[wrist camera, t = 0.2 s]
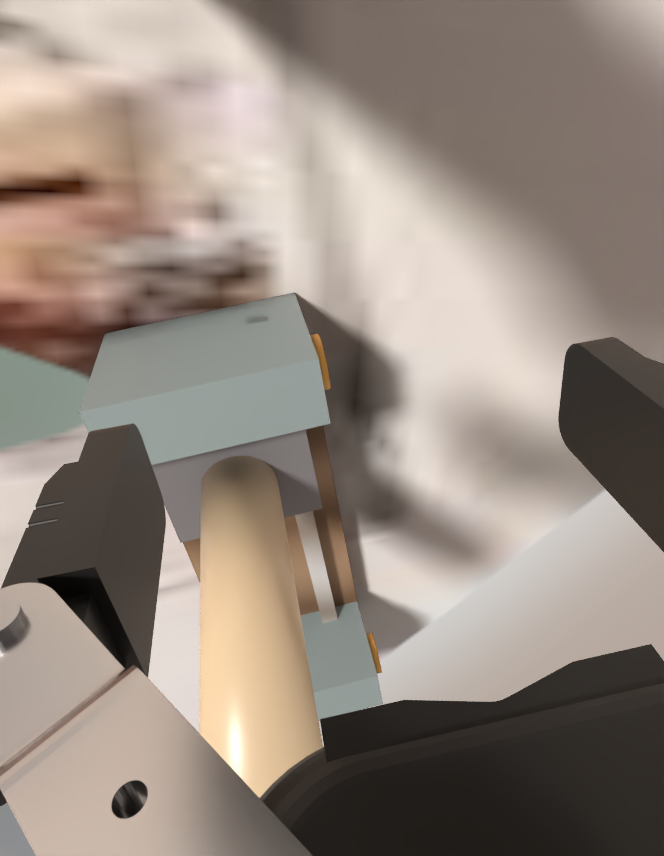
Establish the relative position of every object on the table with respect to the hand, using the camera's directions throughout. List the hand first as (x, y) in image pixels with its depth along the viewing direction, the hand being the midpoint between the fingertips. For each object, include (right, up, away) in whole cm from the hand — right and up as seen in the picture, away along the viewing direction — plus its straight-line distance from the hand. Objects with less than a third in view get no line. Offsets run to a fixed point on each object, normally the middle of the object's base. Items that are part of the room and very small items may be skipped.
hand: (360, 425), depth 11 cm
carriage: (-5, -1, +18) cm, 19 cm away
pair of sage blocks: (-5, -4, +23) cm, 24 cm away
